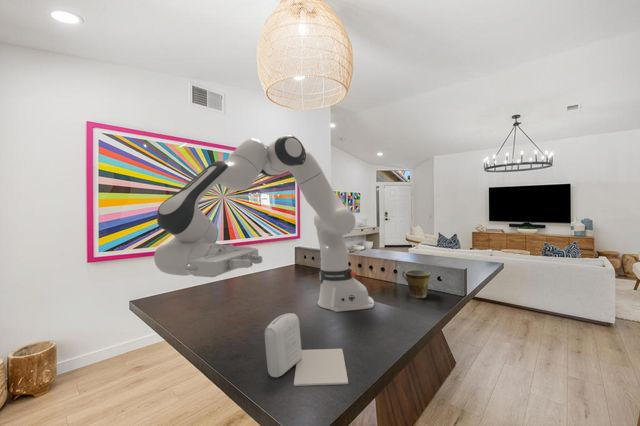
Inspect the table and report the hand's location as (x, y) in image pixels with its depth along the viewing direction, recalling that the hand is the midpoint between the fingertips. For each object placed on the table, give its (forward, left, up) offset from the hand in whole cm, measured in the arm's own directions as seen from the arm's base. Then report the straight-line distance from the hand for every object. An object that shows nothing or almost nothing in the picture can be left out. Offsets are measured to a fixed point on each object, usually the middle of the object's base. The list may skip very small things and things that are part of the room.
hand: (256, 261), depth 71 cm
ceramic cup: (-57, -51, -26) cm, 81 cm away
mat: (-15, +2, -26) cm, 30 cm away
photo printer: (-7, +2, -26) cm, 27 cm away
